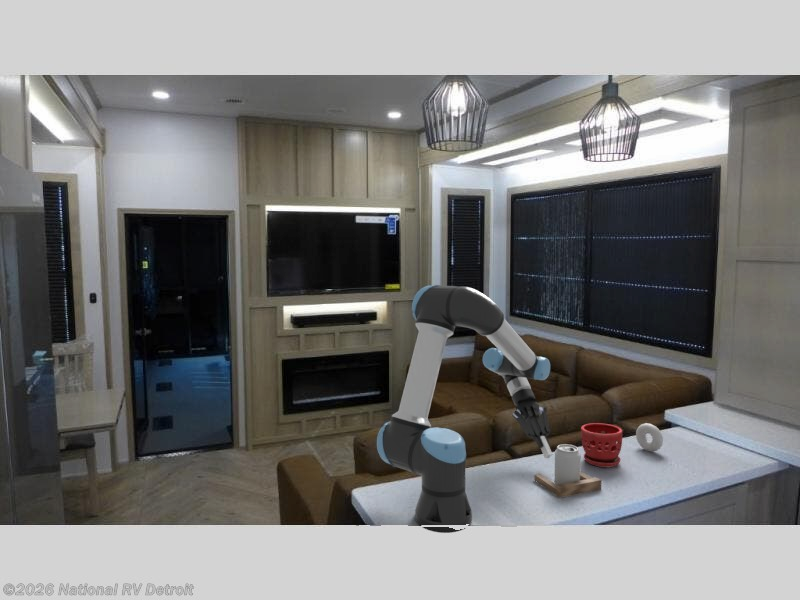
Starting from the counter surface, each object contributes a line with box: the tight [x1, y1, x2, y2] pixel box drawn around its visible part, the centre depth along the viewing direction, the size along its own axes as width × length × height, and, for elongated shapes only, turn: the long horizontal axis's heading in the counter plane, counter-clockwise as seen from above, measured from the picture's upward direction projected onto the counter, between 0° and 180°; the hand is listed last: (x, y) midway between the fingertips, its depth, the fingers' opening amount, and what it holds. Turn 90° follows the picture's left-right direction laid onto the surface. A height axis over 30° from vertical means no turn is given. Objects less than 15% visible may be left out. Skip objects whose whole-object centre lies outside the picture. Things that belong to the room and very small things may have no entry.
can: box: [553, 443, 581, 485], centre depth 161 cm, size 8×8×12 cm
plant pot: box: [580, 422, 623, 468], centre depth 179 cm, size 13×13×12 cm
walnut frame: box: [533, 470, 602, 499], centre depth 162 cm, size 15×12×3 cm
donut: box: [635, 422, 664, 453], centre depth 188 cm, size 10×3×10 cm, turn 30°
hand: (548, 456), depth 171 cm, fingers closed
